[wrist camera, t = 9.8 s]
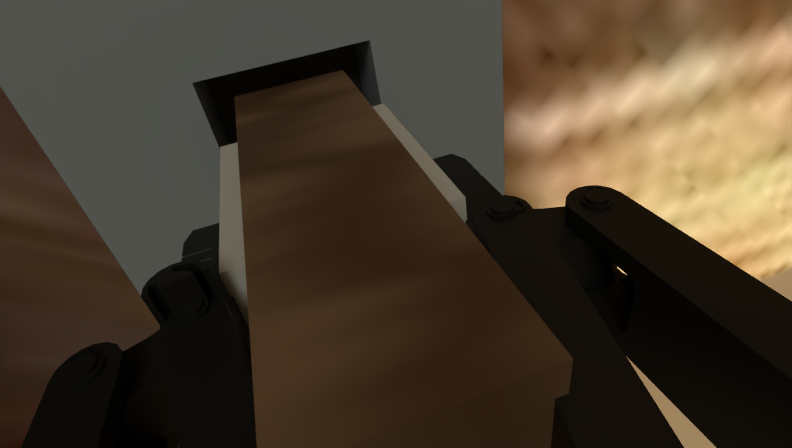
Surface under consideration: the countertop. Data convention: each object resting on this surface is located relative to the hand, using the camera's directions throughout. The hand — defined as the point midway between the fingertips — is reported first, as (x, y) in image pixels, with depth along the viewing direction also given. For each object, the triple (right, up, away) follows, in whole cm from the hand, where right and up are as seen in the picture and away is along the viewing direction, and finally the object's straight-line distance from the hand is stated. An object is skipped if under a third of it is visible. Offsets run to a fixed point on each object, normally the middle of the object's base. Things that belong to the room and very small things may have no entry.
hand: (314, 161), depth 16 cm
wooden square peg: (-1, +1, +2) cm, 3 cm away
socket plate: (-2, +3, +4) cm, 5 cm away
